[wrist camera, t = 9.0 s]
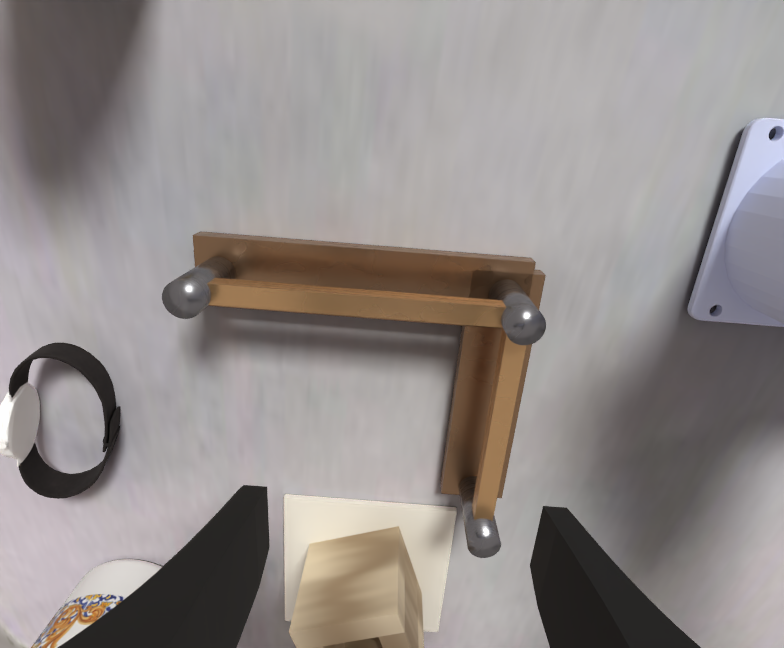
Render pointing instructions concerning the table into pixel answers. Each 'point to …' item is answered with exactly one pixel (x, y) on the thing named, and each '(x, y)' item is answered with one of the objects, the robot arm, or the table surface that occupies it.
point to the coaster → (350, 517)
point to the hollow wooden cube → (359, 594)
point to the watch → (22, 415)
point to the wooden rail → (402, 303)
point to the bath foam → (95, 598)
